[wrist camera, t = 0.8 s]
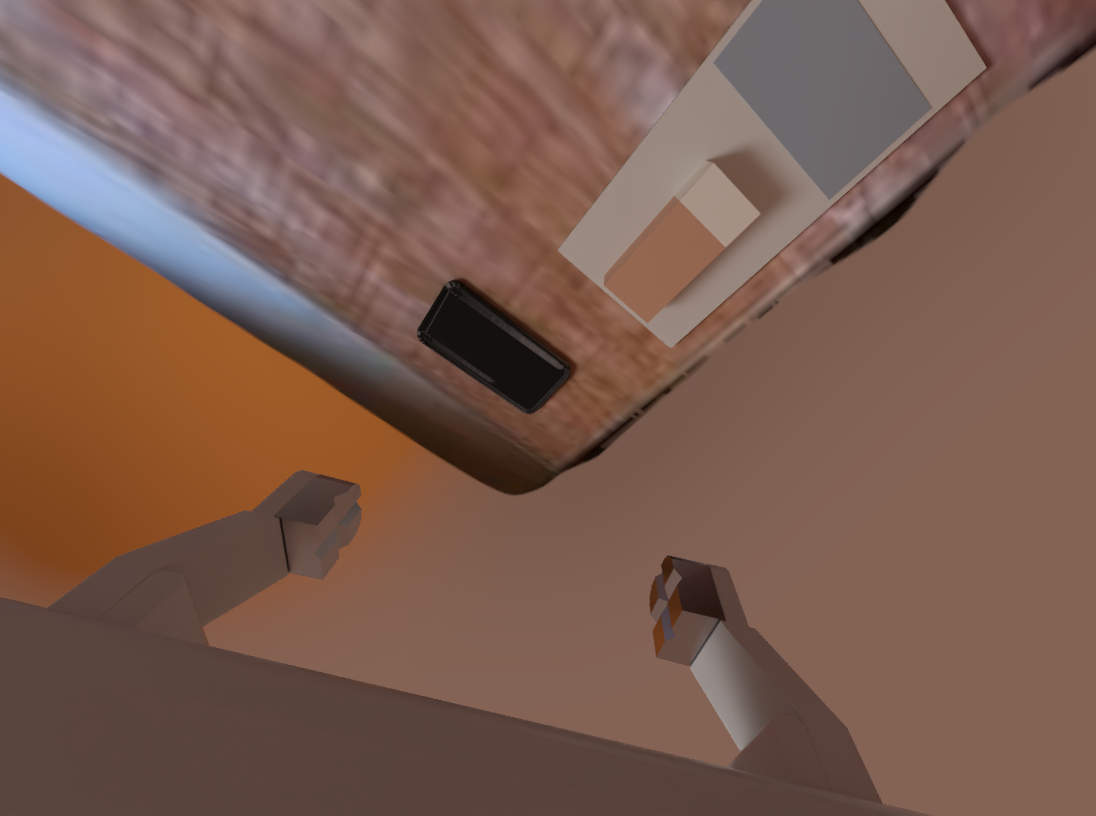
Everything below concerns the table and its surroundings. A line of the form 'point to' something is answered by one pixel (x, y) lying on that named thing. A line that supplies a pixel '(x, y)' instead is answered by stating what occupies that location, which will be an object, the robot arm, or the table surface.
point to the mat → (780, 130)
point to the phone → (492, 348)
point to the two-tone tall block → (680, 241)
